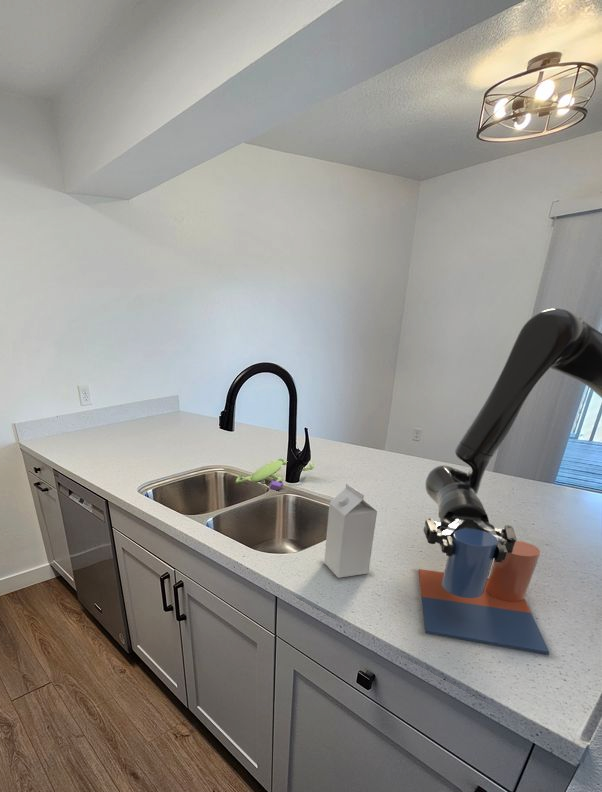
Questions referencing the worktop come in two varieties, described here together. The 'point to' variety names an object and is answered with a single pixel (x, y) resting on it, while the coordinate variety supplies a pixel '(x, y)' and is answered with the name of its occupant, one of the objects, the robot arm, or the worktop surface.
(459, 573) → the blue crock
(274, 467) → the figurine
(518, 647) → the sorting mat
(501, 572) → the terracotta crock
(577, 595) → the worktop surface
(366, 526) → the milk carton
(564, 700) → the worktop surface
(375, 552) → the worktop surface
